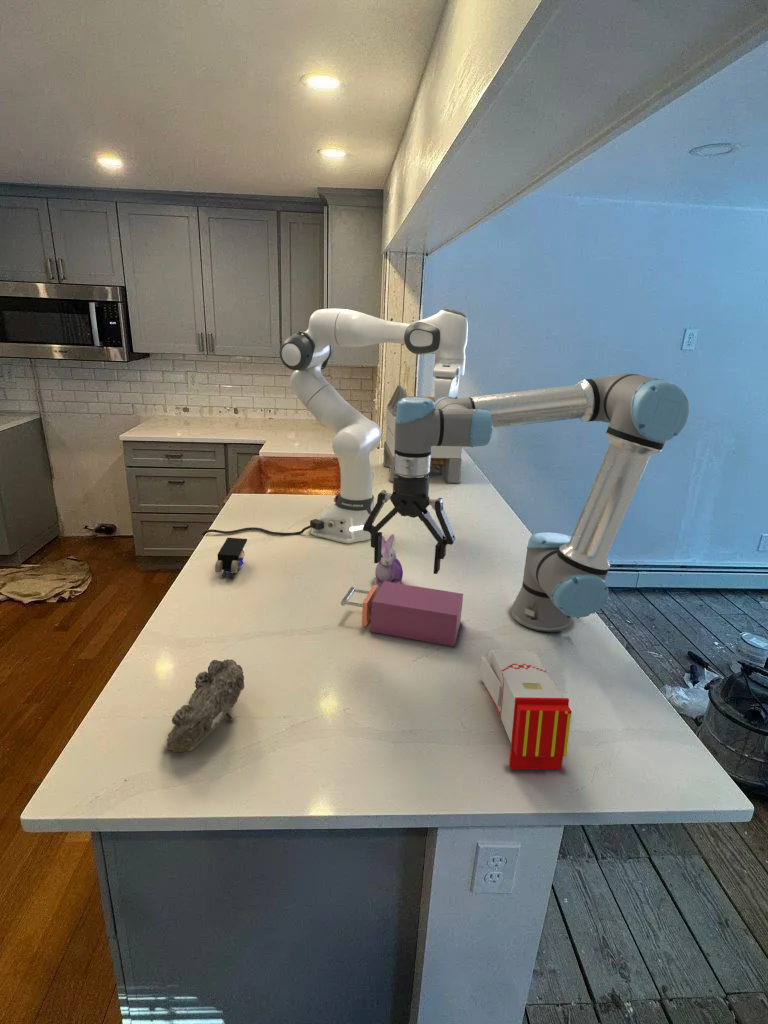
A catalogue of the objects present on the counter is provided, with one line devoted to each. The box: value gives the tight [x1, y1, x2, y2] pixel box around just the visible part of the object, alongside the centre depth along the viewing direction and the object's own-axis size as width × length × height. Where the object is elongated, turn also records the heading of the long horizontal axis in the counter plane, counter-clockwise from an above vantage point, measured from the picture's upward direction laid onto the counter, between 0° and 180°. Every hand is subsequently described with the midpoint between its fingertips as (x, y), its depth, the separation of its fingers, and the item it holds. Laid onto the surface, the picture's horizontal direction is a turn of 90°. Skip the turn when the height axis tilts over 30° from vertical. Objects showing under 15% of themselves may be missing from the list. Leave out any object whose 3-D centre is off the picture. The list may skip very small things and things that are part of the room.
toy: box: [479, 649, 572, 771], centre depth 110 cm, size 12×13×30 cm
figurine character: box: [214, 537, 248, 578], centre depth 166 cm, size 7×8×15 cm
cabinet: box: [370, 581, 464, 647], centre depth 140 cm, size 21×11×8 cm, turn 75°
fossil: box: [166, 658, 245, 754], centre depth 106 cm, size 22×10×15 cm
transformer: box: [383, 384, 463, 484], centre depth 268 cm, size 34×33×41 cm
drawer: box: [340, 583, 379, 627], centre depth 142 cm, size 25×10×6 cm, turn 75°
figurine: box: [373, 533, 404, 590], centre depth 160 cm, size 9×10×15 cm
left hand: (445, 415), depth 170 cm, fingers open, 8 cm apart
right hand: (406, 566), depth 125 cm, fingers open, 13 cm apart
